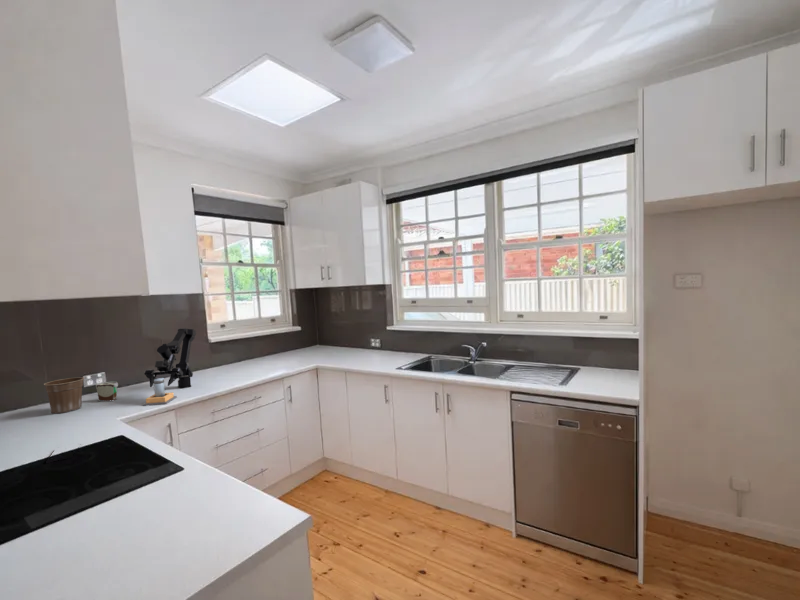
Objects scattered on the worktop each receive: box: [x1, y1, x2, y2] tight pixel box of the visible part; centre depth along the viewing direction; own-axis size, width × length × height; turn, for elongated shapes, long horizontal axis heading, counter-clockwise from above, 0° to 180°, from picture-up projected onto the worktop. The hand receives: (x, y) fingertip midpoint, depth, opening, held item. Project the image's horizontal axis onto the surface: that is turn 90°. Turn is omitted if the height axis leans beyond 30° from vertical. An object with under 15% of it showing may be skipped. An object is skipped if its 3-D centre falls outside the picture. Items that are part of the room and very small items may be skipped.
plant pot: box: [43, 376, 85, 414], centre depth 199 cm, size 16×16×16 cm
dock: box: [142, 392, 178, 407], centre depth 207 cm, size 12×12×4 cm
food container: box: [95, 381, 119, 402], centre depth 217 cm, size 12×6×10 cm, turn 84°
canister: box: [153, 377, 166, 397], centre depth 207 cm, size 5×5×12 cm
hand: (159, 386), depth 207 cm, fingers open, 9 cm apart
